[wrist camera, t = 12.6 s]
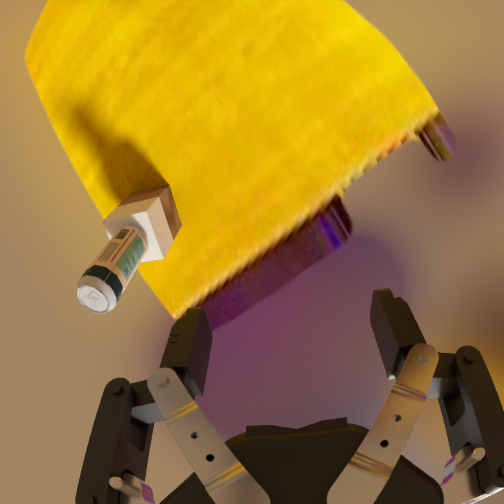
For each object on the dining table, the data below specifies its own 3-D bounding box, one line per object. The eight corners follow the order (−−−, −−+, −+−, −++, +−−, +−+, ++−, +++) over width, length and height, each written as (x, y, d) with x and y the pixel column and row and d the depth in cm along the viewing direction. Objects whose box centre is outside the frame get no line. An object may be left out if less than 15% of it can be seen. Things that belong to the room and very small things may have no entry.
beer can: (112, 239, 37) (68, 297, 27) (127, 216, 35) (81, 273, 25) (139, 260, 39) (103, 323, 29) (156, 239, 37) (119, 303, 27)
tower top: (117, 206, 40) (102, 221, 36) (158, 196, 39) (146, 211, 35) (133, 247, 43) (121, 265, 39) (173, 240, 43) (163, 258, 38)
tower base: (130, 194, 44) (117, 206, 40) (169, 184, 43) (159, 196, 39) (144, 232, 48) (133, 247, 43) (181, 225, 47) (173, 240, 43)
